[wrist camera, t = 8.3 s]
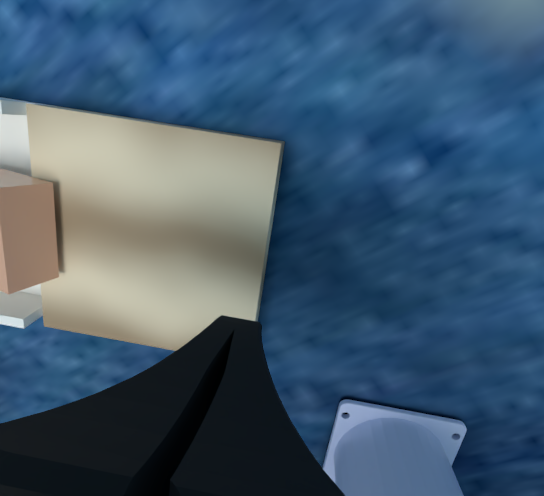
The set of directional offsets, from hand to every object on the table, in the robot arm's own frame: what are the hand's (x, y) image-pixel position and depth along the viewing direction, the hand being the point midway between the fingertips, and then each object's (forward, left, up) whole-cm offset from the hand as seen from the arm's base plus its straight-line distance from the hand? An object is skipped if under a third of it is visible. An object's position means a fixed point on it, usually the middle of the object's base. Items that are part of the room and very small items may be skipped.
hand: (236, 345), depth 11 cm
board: (0, +6, -9) cm, 11 cm away
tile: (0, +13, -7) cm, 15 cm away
